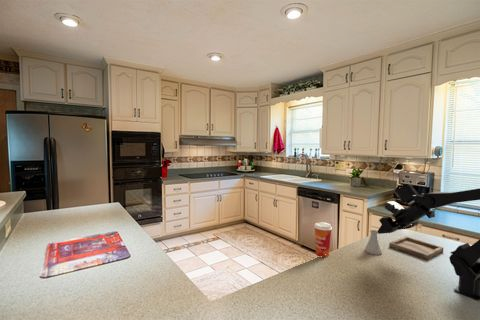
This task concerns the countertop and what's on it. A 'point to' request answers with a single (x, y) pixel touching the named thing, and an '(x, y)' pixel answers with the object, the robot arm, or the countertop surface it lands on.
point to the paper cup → (322, 238)
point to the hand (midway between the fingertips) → (384, 231)
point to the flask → (373, 244)
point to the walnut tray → (416, 247)
